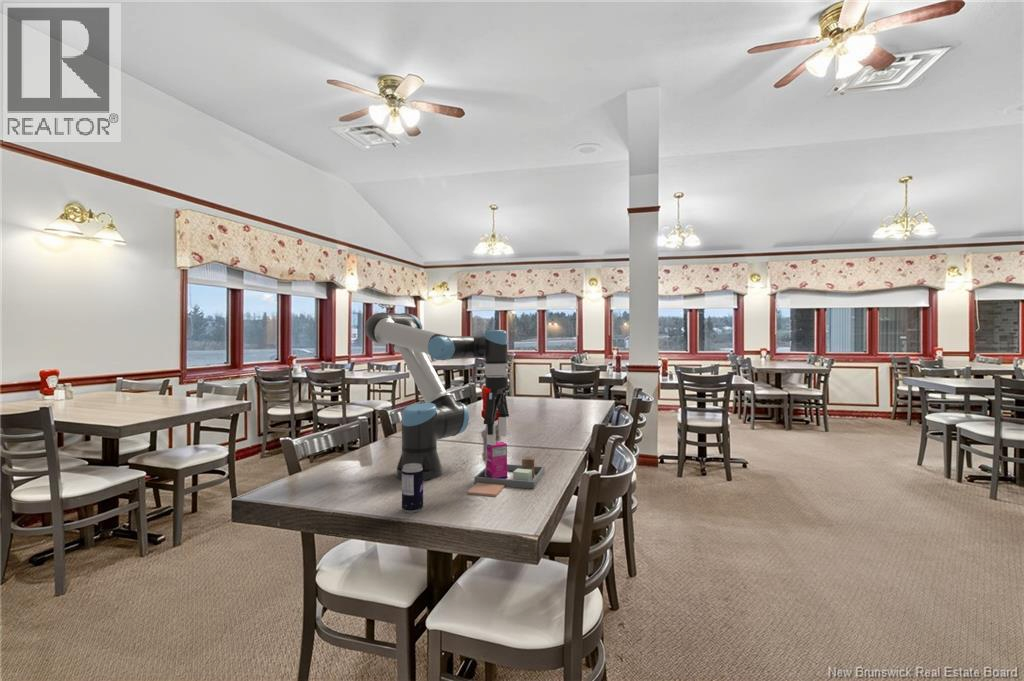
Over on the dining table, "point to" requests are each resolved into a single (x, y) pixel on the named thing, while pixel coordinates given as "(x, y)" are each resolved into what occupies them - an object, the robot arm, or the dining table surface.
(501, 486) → the pad
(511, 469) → the bin
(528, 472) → the pale green box
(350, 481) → the dining table surface
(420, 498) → the beverage can
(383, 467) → the dining table surface
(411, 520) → the dining table surface
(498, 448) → the supplement box
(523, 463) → the walnut block
